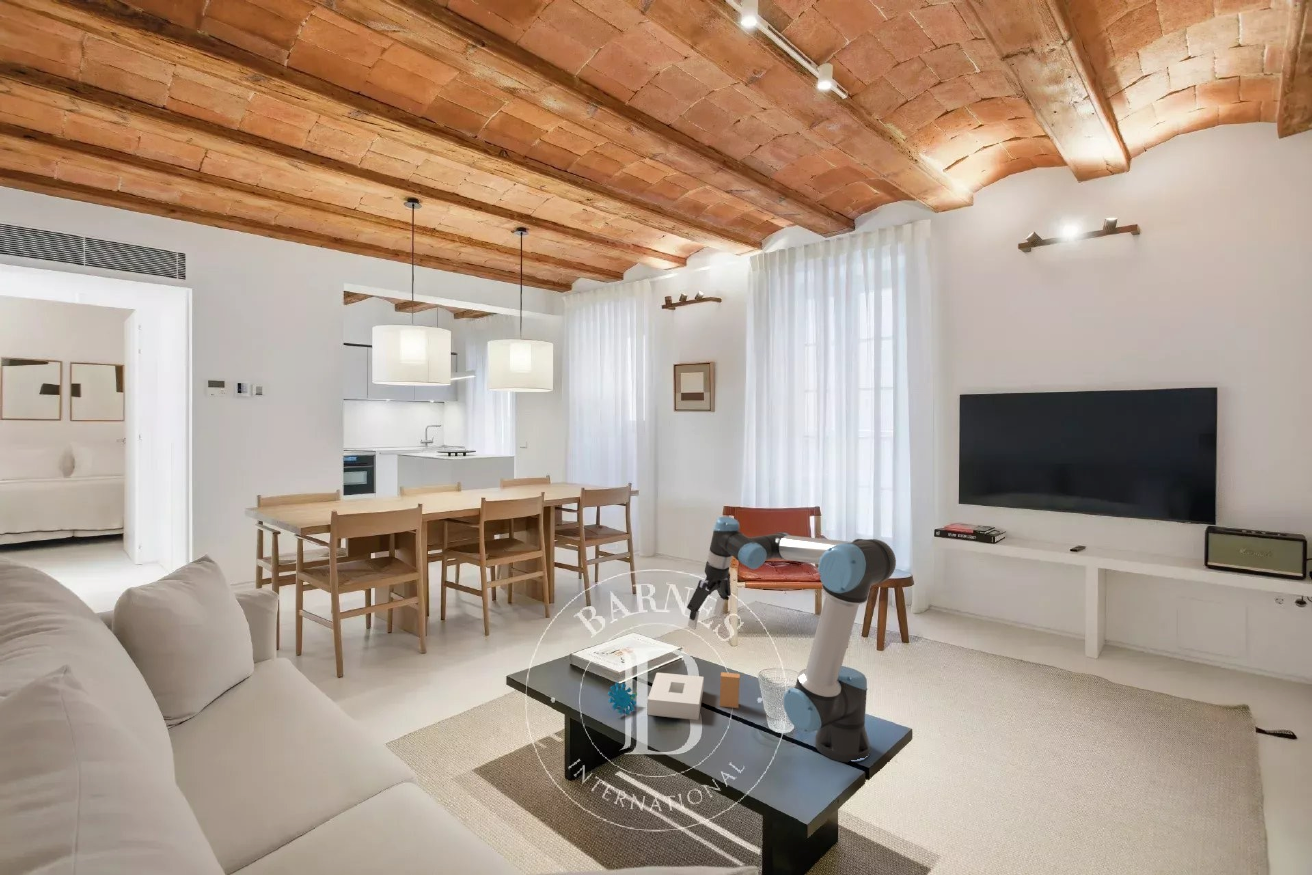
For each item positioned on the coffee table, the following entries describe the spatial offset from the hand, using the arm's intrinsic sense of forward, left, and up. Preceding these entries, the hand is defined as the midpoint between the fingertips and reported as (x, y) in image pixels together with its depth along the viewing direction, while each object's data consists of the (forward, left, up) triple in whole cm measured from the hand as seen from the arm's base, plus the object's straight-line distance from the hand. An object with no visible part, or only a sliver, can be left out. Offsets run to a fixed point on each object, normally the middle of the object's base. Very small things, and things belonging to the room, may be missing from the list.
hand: (704, 621), depth 219 cm
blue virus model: (-13, +24, -26) cm, 38 cm away
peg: (-4, -9, -26) cm, 28 cm away
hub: (-6, +8, -26) cm, 27 cm away
